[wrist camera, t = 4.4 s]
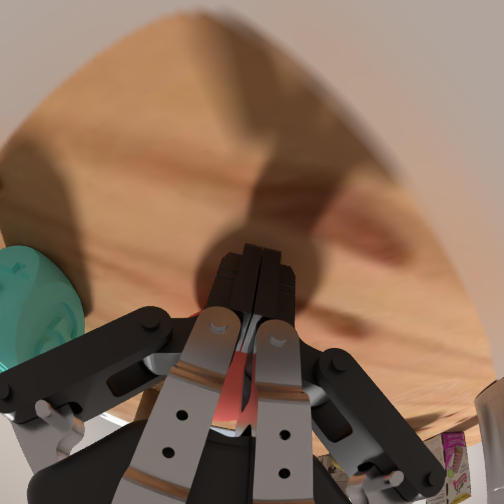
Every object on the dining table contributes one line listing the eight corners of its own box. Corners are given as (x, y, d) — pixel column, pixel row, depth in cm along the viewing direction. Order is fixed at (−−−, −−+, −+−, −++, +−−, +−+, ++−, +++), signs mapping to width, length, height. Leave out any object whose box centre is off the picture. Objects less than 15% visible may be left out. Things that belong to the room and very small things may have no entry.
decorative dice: (1, 237, 15) (-58, 306, 8) (63, 252, 14) (-8, 348, 8) (35, 307, 20) (-5, 371, 13) (96, 330, 19) (57, 412, 13)
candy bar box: (465, 430, 33) (472, 496, 20) (446, 439, 36) (451, 503, 23) (442, 431, 31) (447, 509, 18) (420, 441, 34) (424, 515, 21)
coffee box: (325, 463, 43) (321, 528, 30) (298, 462, 42) (291, 530, 29) (351, 455, 38) (349, 529, 25) (322, 455, 37) (316, 533, 24)
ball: (296, 296, 14) (293, 407, 9) (271, 356, 17) (262, 441, 13) (180, 272, 14) (137, 373, 9) (182, 337, 17) (156, 418, 13)
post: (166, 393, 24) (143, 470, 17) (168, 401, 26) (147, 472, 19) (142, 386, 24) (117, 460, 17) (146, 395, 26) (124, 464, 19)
